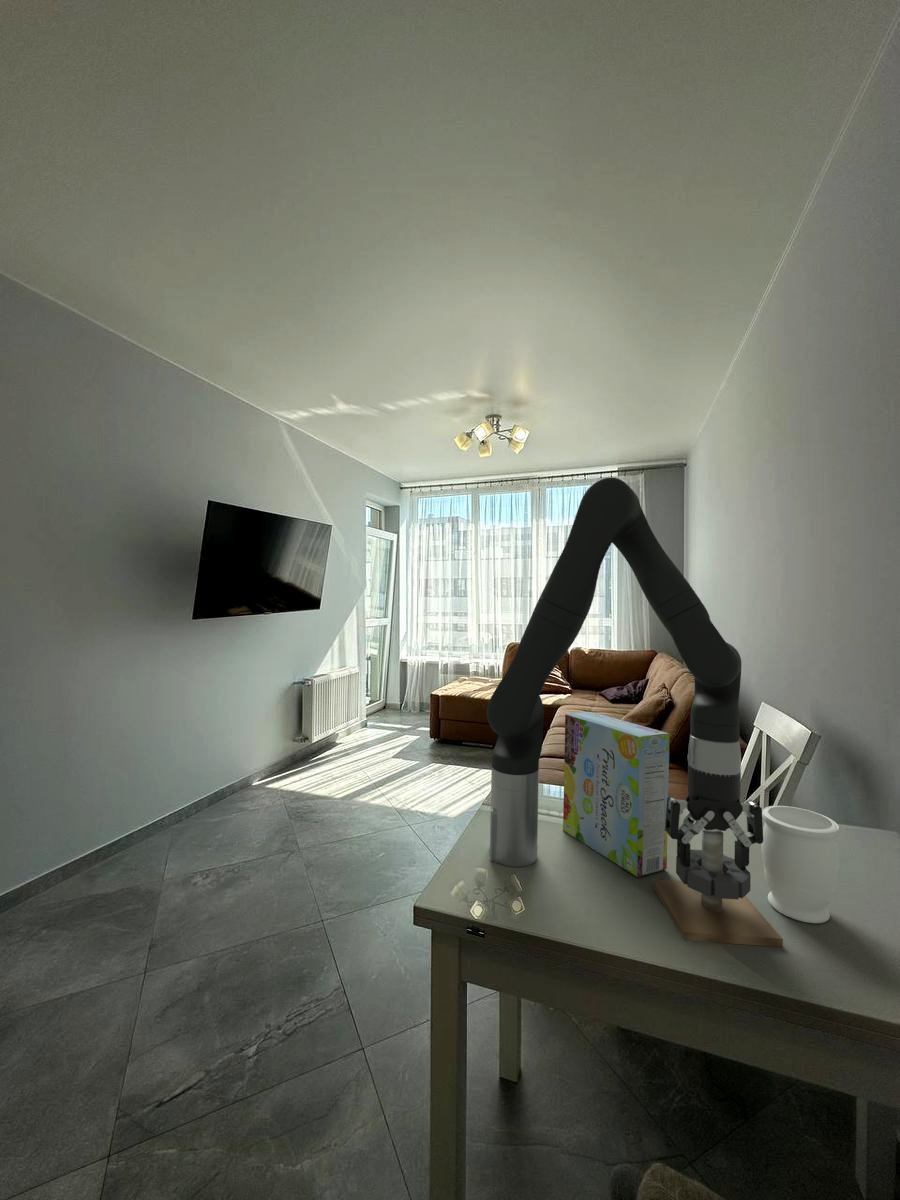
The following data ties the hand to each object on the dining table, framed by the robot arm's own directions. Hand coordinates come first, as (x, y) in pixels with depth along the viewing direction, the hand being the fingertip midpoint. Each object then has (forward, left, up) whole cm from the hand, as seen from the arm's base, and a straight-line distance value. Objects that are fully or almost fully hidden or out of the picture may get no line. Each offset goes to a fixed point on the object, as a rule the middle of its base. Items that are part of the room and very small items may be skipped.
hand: (712, 865), depth 80 cm
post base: (0, 0, -8) cm, 8 cm away
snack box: (-11, +20, -8) cm, 24 cm away
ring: (0, 0, -2) cm, 2 cm away
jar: (+15, +3, -8) cm, 17 cm away
